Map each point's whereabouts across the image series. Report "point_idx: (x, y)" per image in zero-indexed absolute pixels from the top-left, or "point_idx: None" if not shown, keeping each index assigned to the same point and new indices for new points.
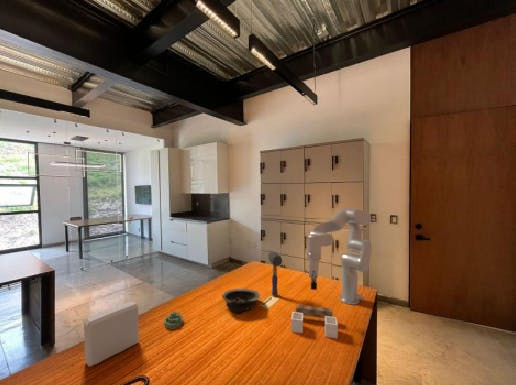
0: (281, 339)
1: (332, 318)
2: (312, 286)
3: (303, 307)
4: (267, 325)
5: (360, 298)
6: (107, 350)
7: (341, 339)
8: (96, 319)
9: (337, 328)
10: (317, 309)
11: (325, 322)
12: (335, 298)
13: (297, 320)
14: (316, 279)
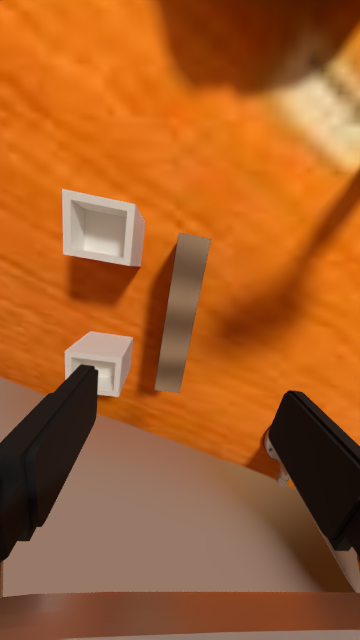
0: (36, 162)
1: (115, 380)
2: (31, 412)
3: (183, 274)
4: (120, 88)
5: (281, 471)
6: None
7: None
8: None
9: None
10: (169, 337)
11: (71, 352)
12: None
13: (64, 227)
14: (291, 473)
